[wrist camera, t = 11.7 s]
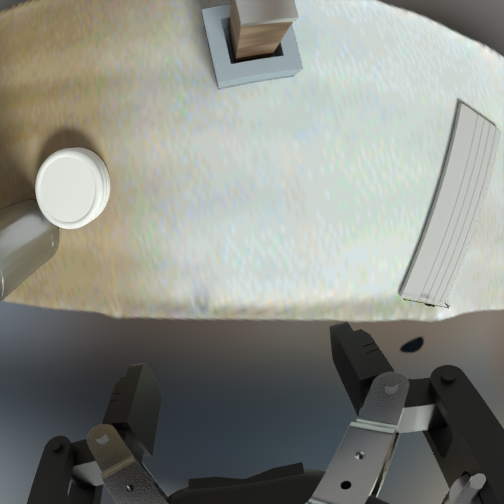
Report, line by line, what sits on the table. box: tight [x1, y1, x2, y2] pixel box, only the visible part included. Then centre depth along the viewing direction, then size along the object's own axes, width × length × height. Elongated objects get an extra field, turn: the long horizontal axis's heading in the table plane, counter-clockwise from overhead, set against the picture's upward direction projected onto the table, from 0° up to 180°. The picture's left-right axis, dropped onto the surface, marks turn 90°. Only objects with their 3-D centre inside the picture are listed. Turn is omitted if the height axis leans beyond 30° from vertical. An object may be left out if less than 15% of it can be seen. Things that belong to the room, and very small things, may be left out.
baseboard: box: [399, 103, 501, 309], centre depth 41 cm, size 31×3×12 cm
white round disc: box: [35, 147, 110, 229], centre depth 35 cm, size 10×10×4 cm
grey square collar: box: [202, 4, 303, 89], centre depth 30 cm, size 9×9×5 cm
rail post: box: [229, 0, 298, 63], centre depth 25 cm, size 4×4×15 cm
